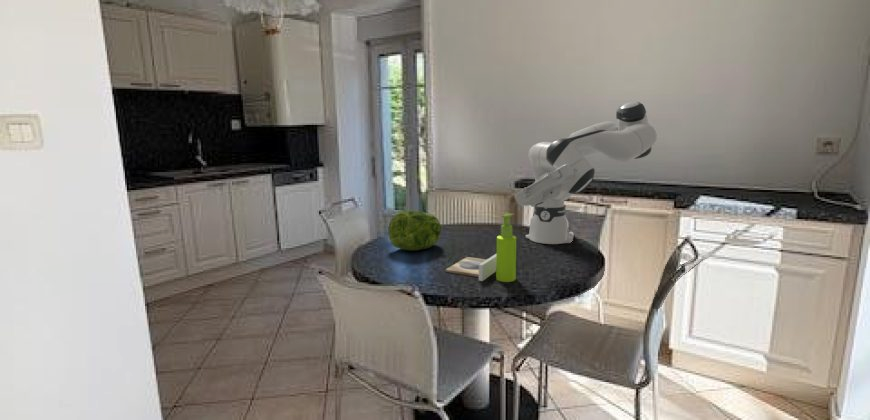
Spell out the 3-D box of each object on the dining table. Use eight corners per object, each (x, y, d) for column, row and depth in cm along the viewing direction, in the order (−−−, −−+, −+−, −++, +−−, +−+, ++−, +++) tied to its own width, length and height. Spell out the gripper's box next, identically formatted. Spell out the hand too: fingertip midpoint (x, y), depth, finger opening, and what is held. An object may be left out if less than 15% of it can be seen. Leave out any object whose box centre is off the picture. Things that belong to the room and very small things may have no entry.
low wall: (502, 263, 160) (503, 249, 159) (506, 263, 160) (506, 249, 159) (478, 280, 143) (478, 264, 142) (482, 281, 142) (482, 265, 142)
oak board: (467, 259, 166) (467, 256, 165) (499, 263, 160) (499, 261, 160) (445, 271, 152) (445, 269, 152) (479, 277, 146) (479, 274, 146)
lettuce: (450, 255, 180) (453, 215, 183) (413, 248, 164) (417, 205, 167) (418, 254, 190) (422, 216, 193) (381, 248, 175) (385, 207, 177)
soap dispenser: (519, 276, 146) (521, 213, 143) (511, 283, 141) (512, 217, 137) (501, 273, 149) (502, 211, 146) (493, 280, 143) (493, 215, 140)
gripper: (583, 178, 152) (572, 174, 140) (529, 209, 160) (514, 207, 148) (573, 162, 154) (562, 156, 142) (520, 193, 162) (505, 190, 150)
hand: (537, 182), depth 145 cm, fingers open, 8 cm apart
